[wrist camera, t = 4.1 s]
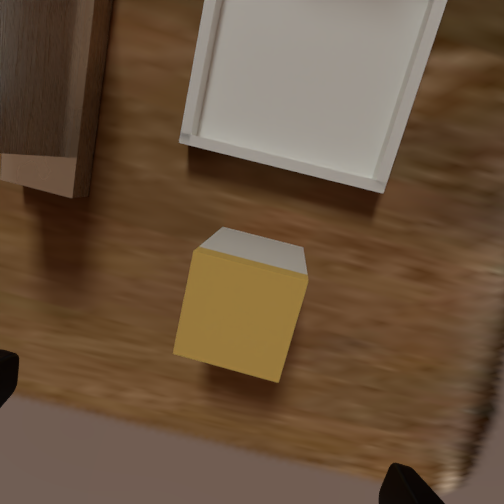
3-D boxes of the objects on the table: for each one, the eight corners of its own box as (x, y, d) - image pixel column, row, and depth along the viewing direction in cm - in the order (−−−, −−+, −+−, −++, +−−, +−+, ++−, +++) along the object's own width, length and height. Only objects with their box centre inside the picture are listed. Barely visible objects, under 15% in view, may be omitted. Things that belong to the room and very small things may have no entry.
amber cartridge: (282, 321, 20) (278, 382, 14) (206, 301, 20) (172, 353, 14) (303, 247, 19) (308, 281, 13) (223, 226, 19) (193, 250, 13)
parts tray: (375, 191, 18) (383, 193, 16) (187, 145, 18) (178, 142, 17) (448, -32, 15) (464, -54, 14) (229, -79, 16) (223, -104, 14)
